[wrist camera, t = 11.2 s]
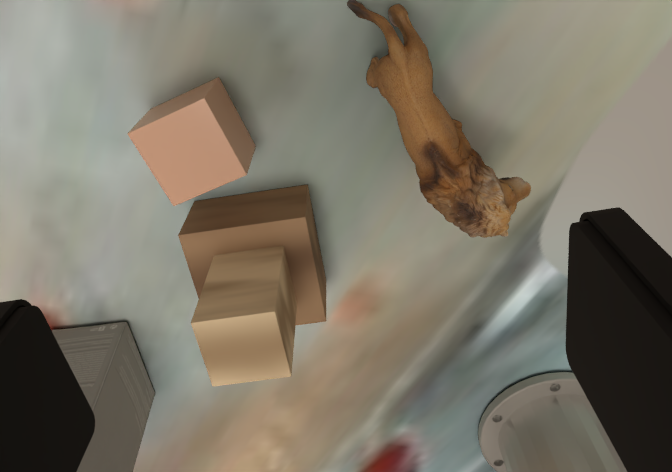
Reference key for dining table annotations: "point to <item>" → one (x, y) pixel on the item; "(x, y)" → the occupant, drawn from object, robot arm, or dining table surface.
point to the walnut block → (260, 239)
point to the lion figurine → (438, 135)
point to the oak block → (247, 317)
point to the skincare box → (110, 392)
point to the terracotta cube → (194, 142)
